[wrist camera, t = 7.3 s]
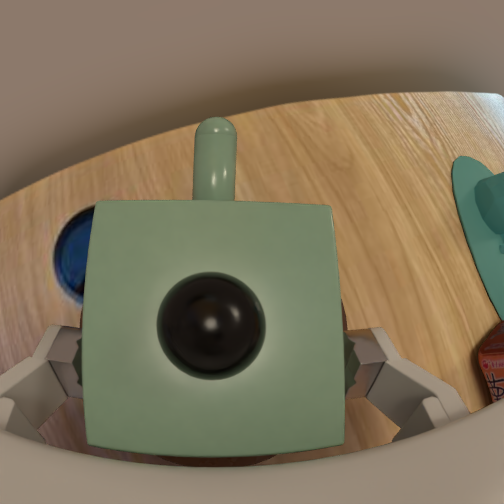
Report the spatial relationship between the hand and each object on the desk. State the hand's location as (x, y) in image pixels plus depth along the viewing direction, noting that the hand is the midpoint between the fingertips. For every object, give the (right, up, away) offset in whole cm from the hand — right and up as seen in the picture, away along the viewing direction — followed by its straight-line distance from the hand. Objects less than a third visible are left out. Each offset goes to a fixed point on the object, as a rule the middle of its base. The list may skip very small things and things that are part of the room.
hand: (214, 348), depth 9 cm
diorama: (+26, +3, +13) cm, 29 cm away
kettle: (-1, -2, +8) cm, 8 cm away
